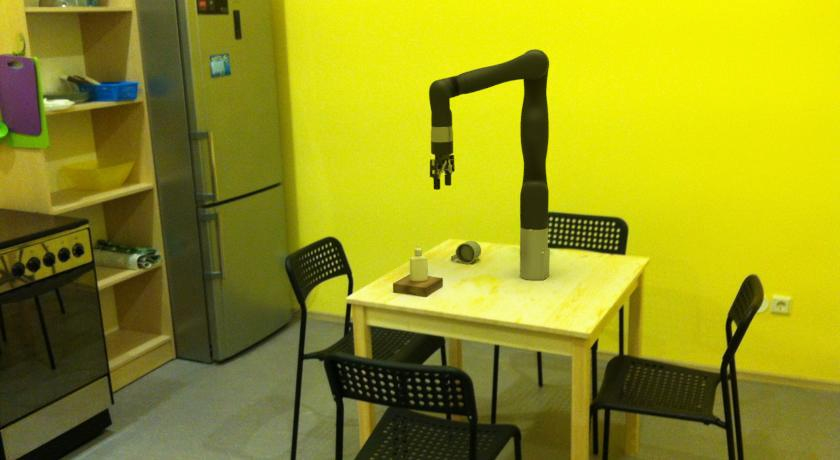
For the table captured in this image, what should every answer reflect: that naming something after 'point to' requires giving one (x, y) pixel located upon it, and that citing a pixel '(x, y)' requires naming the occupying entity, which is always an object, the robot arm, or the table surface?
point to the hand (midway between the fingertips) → (442, 187)
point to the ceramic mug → (467, 252)
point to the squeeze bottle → (418, 266)
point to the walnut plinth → (417, 286)
